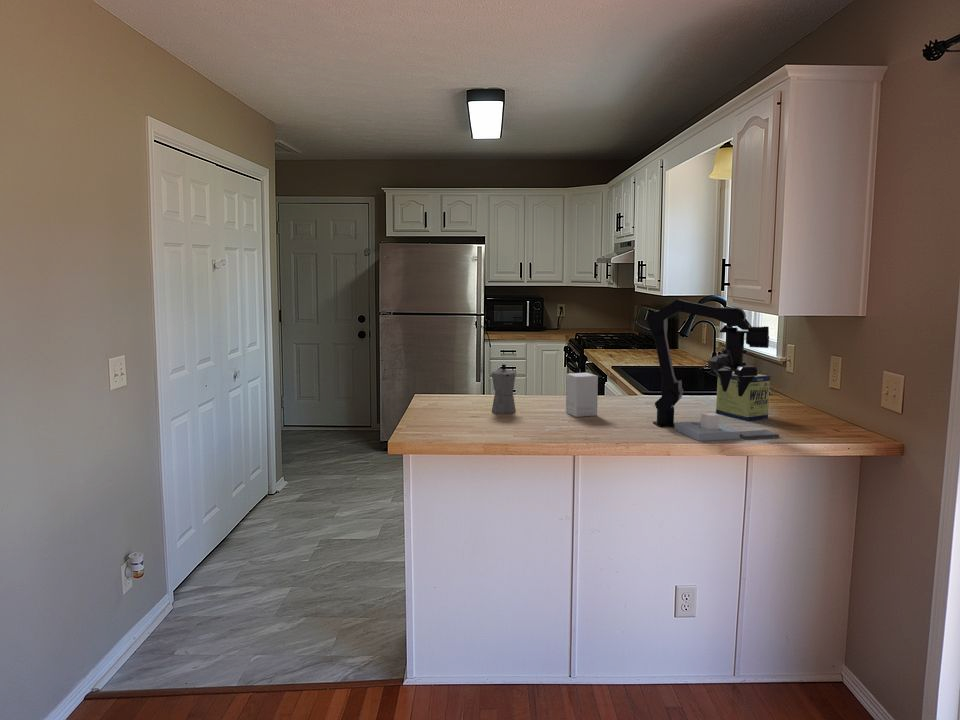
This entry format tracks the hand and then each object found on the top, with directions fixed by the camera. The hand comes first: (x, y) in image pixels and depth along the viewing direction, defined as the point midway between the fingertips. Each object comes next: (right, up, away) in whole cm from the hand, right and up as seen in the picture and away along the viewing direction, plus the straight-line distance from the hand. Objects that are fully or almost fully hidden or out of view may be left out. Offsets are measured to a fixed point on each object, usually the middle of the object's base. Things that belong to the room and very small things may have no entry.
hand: (732, 393), depth 226 cm
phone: (+6, -13, -5) cm, 15 cm away
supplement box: (-45, -9, +29) cm, 55 cm away
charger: (-9, -13, -4) cm, 16 cm away
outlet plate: (-9, -13, -2) cm, 16 cm away
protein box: (+13, -10, +25) cm, 30 cm away
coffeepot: (-74, -8, +36) cm, 83 cm away
